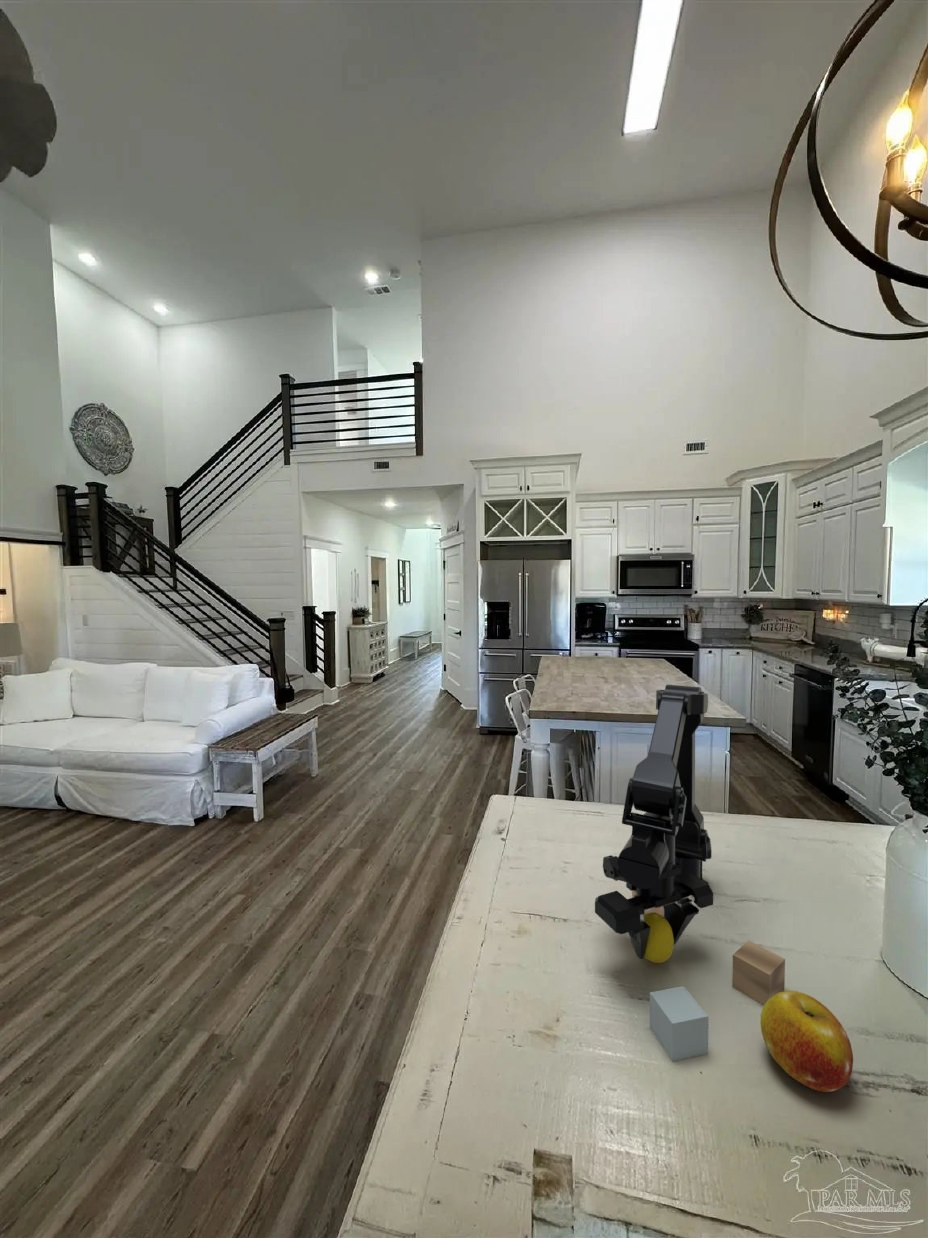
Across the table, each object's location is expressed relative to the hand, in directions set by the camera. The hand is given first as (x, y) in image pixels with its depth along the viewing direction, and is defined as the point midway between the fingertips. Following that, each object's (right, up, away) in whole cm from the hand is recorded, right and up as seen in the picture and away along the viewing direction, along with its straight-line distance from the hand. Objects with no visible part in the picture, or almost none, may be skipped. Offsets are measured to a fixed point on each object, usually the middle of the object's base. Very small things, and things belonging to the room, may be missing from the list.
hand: (654, 952), depth 80 cm
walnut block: (+13, -2, -6) cm, 14 cm away
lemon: (0, -2, 0) cm, 2 cm away
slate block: (-2, -3, -14) cm, 14 cm away
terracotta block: (+4, -1, +14) cm, 14 cm away
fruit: (+11, -3, -18) cm, 21 cm away
